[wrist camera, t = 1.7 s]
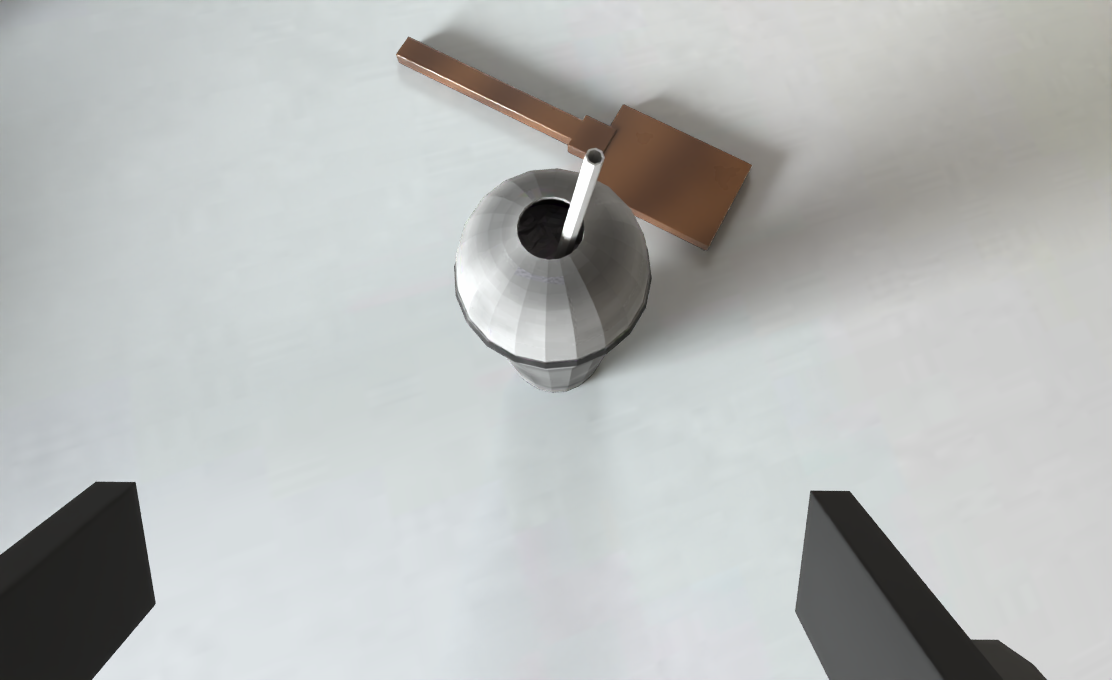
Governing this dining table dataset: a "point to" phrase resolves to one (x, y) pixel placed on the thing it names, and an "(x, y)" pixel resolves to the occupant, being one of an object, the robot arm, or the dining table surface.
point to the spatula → (614, 150)
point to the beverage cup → (553, 273)
